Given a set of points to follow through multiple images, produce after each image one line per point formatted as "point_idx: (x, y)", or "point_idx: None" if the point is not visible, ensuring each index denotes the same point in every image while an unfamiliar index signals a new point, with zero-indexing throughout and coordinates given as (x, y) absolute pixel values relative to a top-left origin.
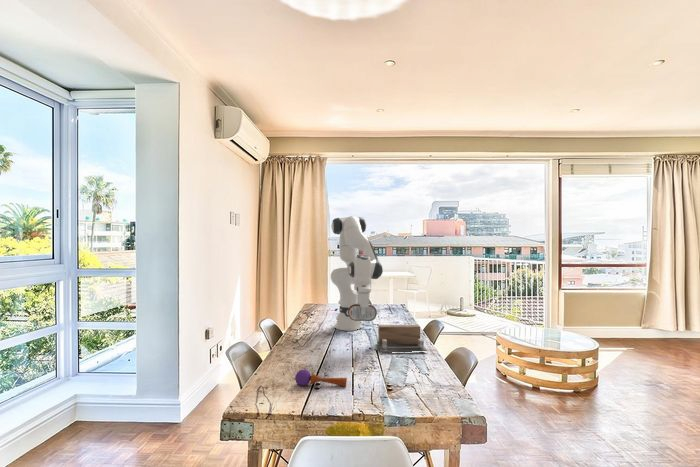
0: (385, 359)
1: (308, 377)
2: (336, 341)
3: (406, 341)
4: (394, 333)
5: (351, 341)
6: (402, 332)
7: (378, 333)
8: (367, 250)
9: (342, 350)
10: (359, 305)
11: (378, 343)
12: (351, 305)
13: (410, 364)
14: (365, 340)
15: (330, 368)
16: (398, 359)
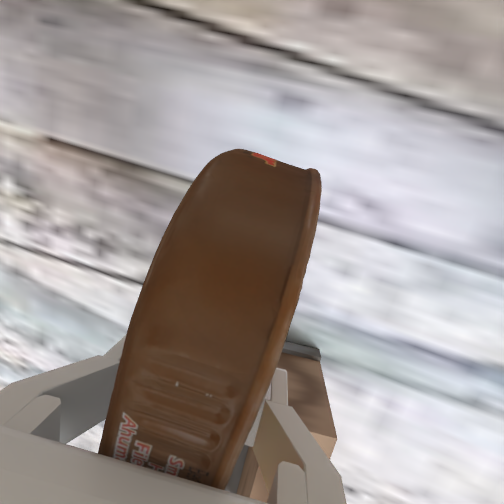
0: (114, 300)
1: None
2: (446, 154)
3: (245, 463)
4: (253, 456)
5: (411, 242)
6: (243, 495)
7: (320, 391)
8: None
9: (268, 148)
10: (107, 427)
11: (285, 349)
12: (301, 259)
13: (57, 360)
14: (401, 320)
15: (28, 23)
16: (109, 346)
